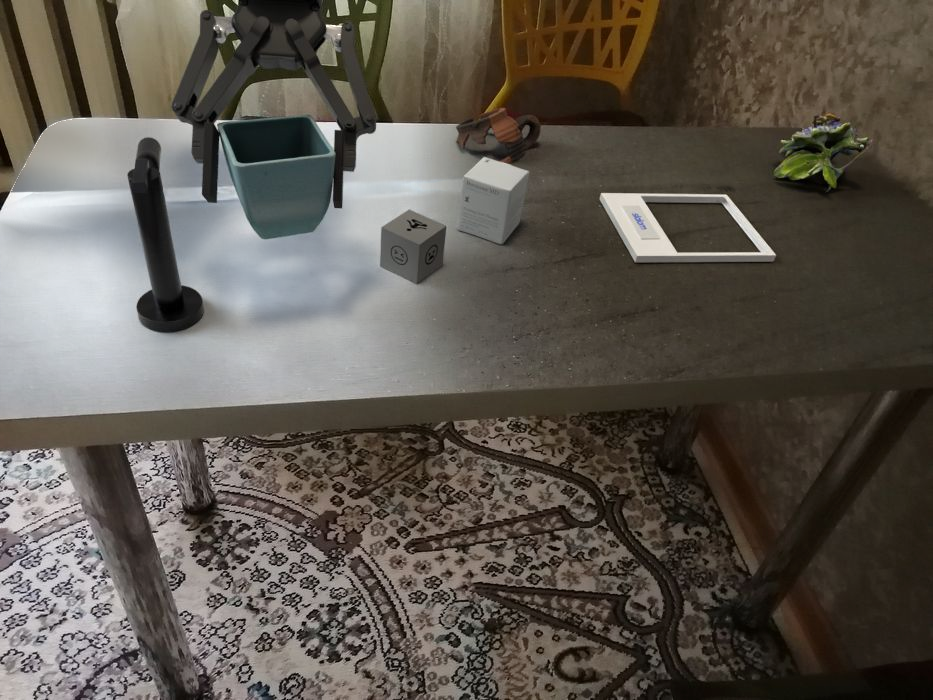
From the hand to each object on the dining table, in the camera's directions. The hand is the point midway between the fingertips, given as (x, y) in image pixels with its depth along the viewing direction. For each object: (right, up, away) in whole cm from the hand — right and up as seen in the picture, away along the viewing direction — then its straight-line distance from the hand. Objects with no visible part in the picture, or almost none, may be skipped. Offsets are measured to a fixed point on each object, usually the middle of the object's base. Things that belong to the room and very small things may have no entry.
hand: (274, 201), depth 67 cm
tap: (-12, -9, +7) cm, 16 cm away
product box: (+20, +1, +24) cm, 31 cm away
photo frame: (+45, +2, +28) cm, 53 cm away
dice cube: (+11, -4, +16) cm, 20 cm away
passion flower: (+68, +11, +42) cm, 81 cm away
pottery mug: (+22, +13, +37) cm, 45 cm away
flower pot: (-1, -1, +5) cm, 5 cm away
